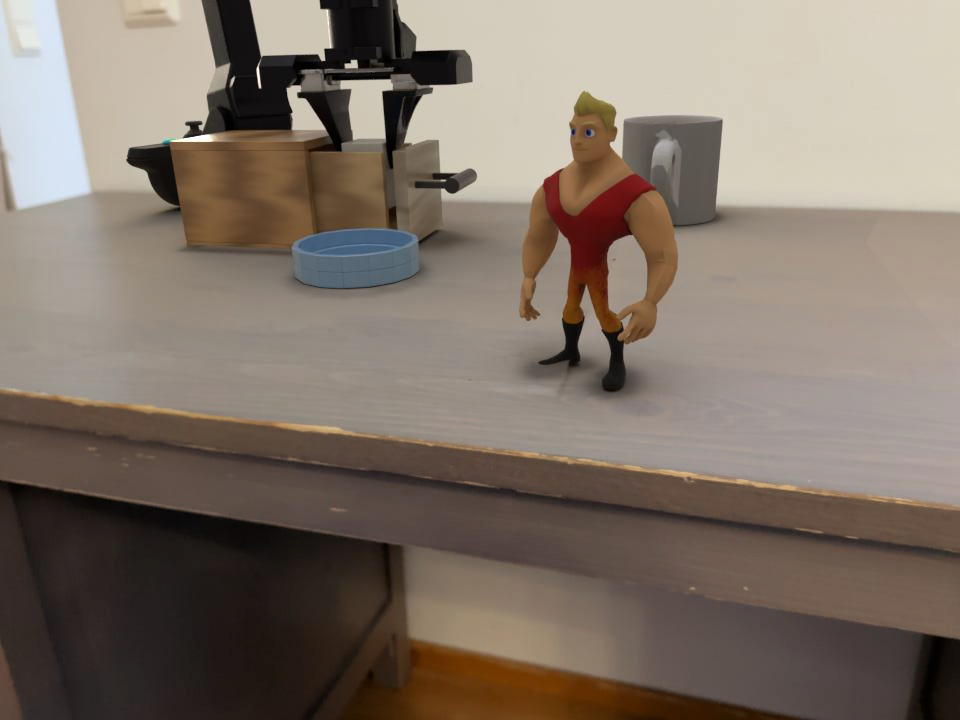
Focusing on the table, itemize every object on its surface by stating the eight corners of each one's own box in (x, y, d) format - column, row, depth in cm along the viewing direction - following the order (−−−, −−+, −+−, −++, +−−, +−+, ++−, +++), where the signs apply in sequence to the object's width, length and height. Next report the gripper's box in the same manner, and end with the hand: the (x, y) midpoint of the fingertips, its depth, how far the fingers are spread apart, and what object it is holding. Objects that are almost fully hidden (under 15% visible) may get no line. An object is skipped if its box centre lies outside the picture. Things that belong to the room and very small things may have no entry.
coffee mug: (638, 204, 90) (642, 114, 86) (725, 211, 85) (733, 115, 82) (593, 227, 79) (595, 125, 76) (689, 235, 75) (697, 127, 71)
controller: (234, 200, 101) (222, 119, 97) (156, 217, 91) (139, 129, 87) (210, 198, 103) (198, 119, 99) (131, 215, 93) (114, 128, 89)
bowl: (329, 259, 70) (326, 226, 69) (435, 264, 67) (433, 229, 66) (273, 291, 61) (269, 253, 60) (394, 297, 58) (391, 258, 57)
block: (347, 209, 73) (341, 143, 71) (363, 201, 77) (358, 138, 74) (386, 210, 72) (382, 143, 70) (401, 202, 76) (397, 138, 73)
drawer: (483, 226, 77) (480, 139, 74) (455, 248, 69) (452, 151, 66) (328, 221, 81) (320, 139, 78) (285, 242, 73) (274, 151, 70)
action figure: (499, 364, 45) (494, 91, 40) (536, 347, 48) (536, 88, 42) (644, 406, 39) (661, 93, 34) (677, 384, 42) (699, 89, 36)
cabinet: (361, 230, 81) (352, 129, 78) (315, 254, 72) (303, 141, 68) (245, 226, 85) (231, 130, 81) (187, 249, 75) (169, 141, 72)
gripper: (485, -15, 72) (489, 157, 78) (302, -6, 77) (319, 156, 83) (450, -25, 62) (458, 174, 68) (242, -14, 67) (266, 172, 73)
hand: (372, 168), depth 73 cm, fingers closed on block, 4 cm apart
